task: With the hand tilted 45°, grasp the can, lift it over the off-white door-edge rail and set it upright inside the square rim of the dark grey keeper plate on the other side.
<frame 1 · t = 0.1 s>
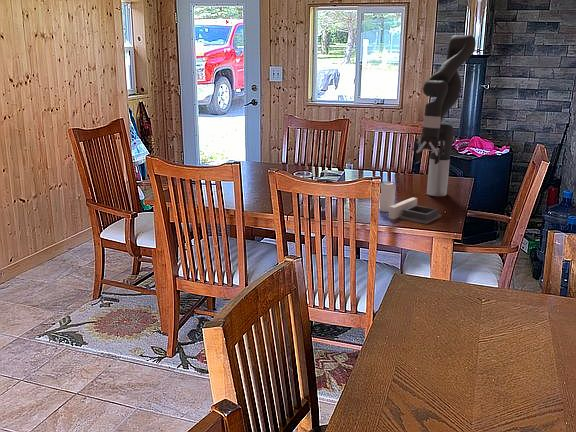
hand: (427, 162, 259), 17 cm above the table, tool pointing down, fingers open, 8 cm apart
drinking glass: (321, 209, 246), on the table
can: (386, 210, 245), on the table
door edge: (402, 213, 241), on the table
keeper: (420, 217, 236), on the table
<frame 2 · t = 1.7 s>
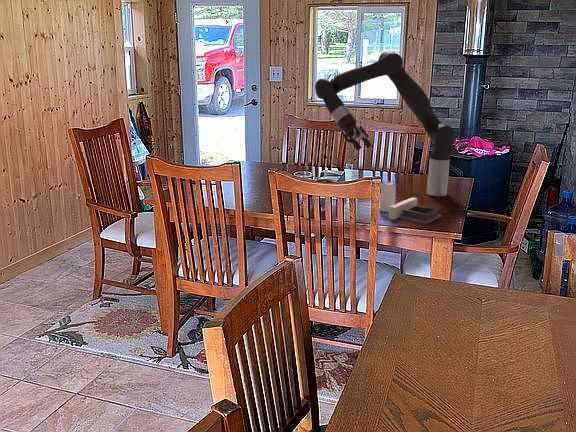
hand: (364, 148, 245), 25 cm above the table, tool tilted 45°, fingers open, 8 cm apart
nothing on the table moved.
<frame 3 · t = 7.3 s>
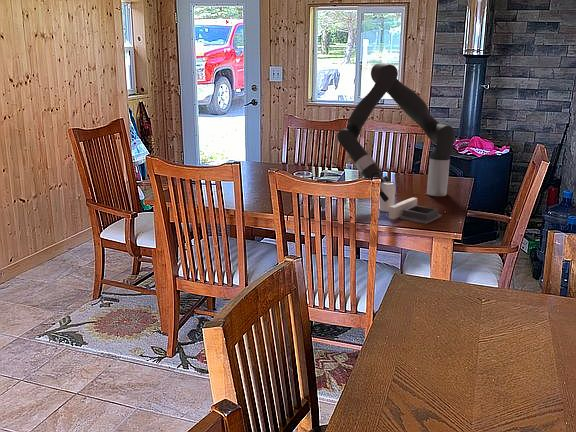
hand: (390, 199, 243), 5 cm above the table, tool tilted 45°, fingers closed on can, 5 cm apart
can: (386, 210, 245), on the table, touching gripper
everything else where it was.
when the fingers open (7 cm above the table, at t = 13.7 s): can stays where it is, resting on keeper.
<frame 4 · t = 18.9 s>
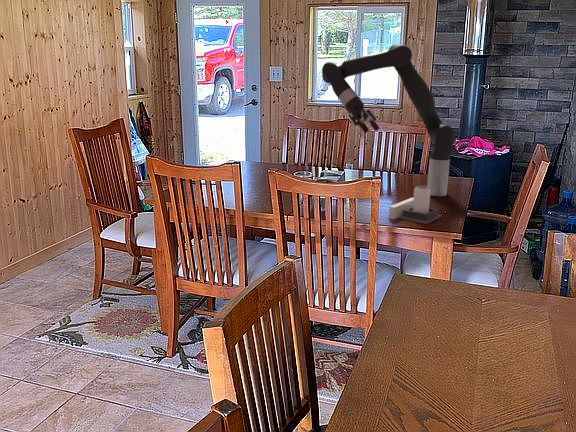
hand: (372, 130, 245), 33 cm above the table, tool tilted 45°, fingers open, 8 cm apart
can: (420, 215, 236), point 1 cm above the table, touching keeper
everything else where it was.
at the end: can 0.5 cm off-centre on the keeper, point 0.6 cm above the keeper's base; can tilted 0°; the gripper is holding nothing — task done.
